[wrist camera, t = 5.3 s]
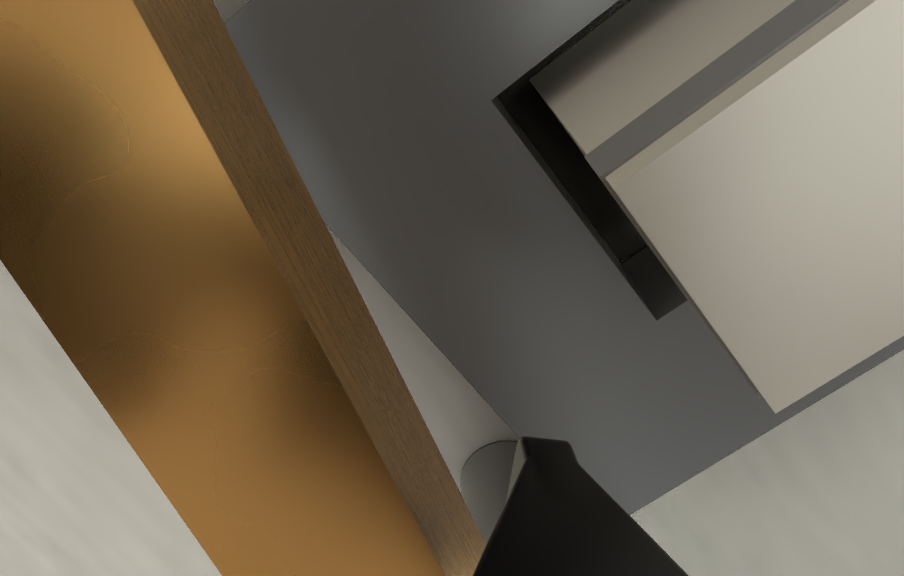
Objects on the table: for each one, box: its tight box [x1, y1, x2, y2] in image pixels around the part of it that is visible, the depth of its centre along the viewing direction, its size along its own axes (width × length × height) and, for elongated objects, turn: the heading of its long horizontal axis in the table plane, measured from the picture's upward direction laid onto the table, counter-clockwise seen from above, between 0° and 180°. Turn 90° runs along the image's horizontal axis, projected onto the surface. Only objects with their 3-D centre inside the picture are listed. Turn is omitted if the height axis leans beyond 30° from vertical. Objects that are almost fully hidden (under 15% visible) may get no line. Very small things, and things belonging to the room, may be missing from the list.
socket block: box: [224, 0, 904, 545], centre depth 13 cm, size 14×16×8 cm
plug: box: [529, 0, 904, 414], centre depth 13 cm, size 4×4×8 cm
